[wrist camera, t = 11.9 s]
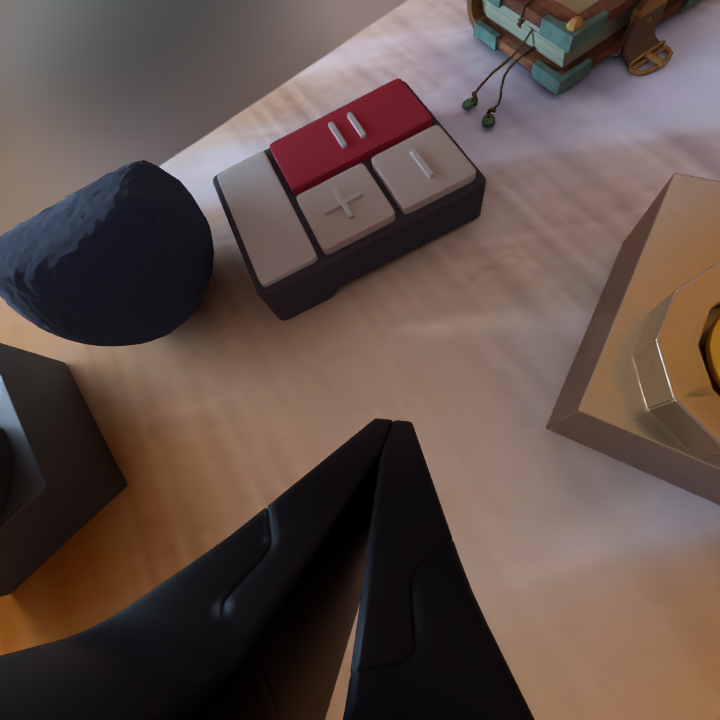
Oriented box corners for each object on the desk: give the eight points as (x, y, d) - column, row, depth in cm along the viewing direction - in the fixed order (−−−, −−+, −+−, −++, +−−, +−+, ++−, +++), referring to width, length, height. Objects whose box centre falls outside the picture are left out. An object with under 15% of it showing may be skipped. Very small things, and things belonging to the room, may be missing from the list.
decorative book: (410, 67, 29) (403, -10, 25) (598, -60, 29) (626, -162, 24) (520, 162, 24) (537, 88, 20) (750, 11, 24) (822, -102, 19)
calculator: (492, 170, 20) (252, 291, 21) (482, 222, 24) (281, 323, 25) (402, 65, 24) (203, 168, 25) (406, 125, 28) (235, 212, 29)
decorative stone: (276, 293, 26) (179, 189, 16) (144, 402, 25) (-30, 359, 16) (203, 203, 30) (94, 80, 21) (90, 295, 30) (-71, 212, 21)
